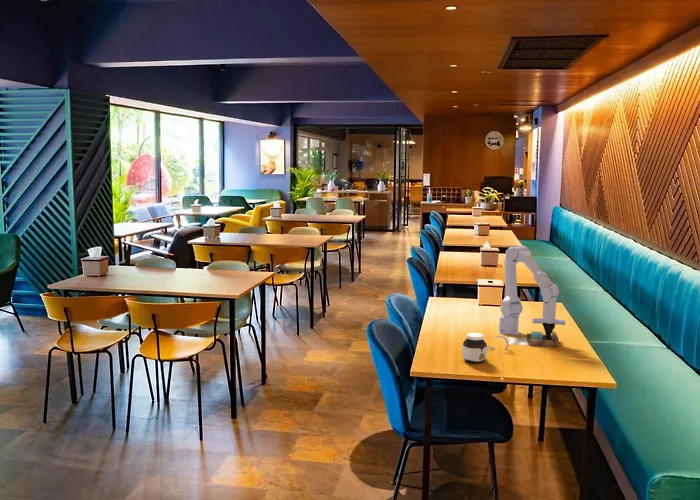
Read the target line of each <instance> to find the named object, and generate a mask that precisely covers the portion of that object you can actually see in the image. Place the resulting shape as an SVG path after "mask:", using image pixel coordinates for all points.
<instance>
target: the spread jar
mask: <svg viewBox="0 0 700 500" xmlns="http://www.w3.org/2000/svg"><path fill="white" fill-rule="evenodd" d="M461 346H462V347H461V355H462V358H463V360H464V361H465V362H466V363H469V364H482V363H483V362H485V360H486V359H487V355H488V348H487V346H488V345H487V342H486V341H485V340H484V334H482V333H478V332H469V333H467V334H466V339H464V341H463V342H462V345H461Z"/></svg>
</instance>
